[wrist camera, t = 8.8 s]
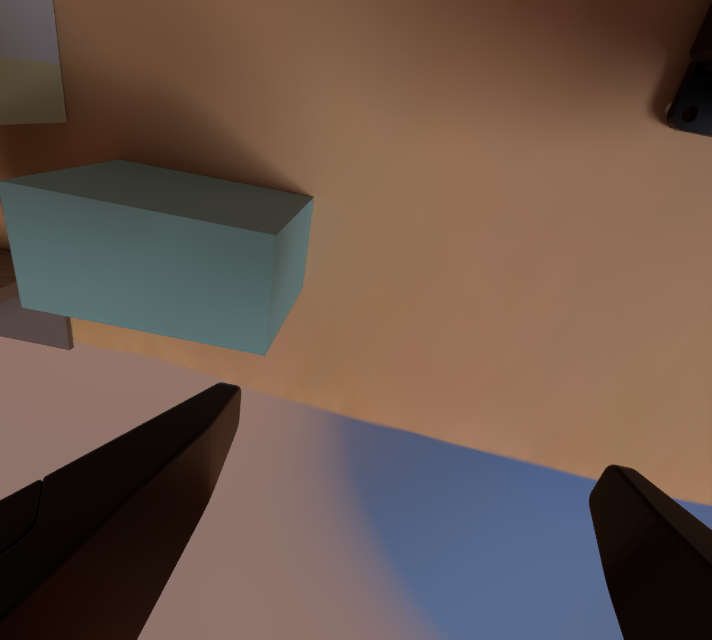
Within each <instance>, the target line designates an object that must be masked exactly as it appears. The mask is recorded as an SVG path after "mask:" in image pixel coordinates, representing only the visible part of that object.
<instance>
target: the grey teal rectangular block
mask: <svg viewBox="0 0 712 640" xmlns="http://www.w3.org/2000/svg"><path fill="white" fill-rule="evenodd" d="M0 197H1V203H2V208H3V213H4V218H5V223H6V228H7V234H8V239H9V244H10V249H11V254H12V259H13V265H14V270H15V275H16V280H17V285H18V290H19V295H20V301H21V306H22V308H27V309H32V310H37V311H42V312H48V313H53V314H58V315H63V316H68V317H73V318H78V319H83V320H88V321H93V322H98V323H103V324H108V325H113V326H118V327H123V328H128V329H133V330H138V331H143V332H148V333H153V334H158V335H163V336H168V337H173V338H178V339H183V340H188V341H193V342H198V343H204V344H209V345H214V346H219V347H224V348H229V349H234V350H239V351H244V352H249V353H254V354H259V355H264V356H265V355H266V353H267V351H268V349H269V348H270V346H271V344H272V342H273V340H274V338H275V337H276V335H277V333H278V331H279V329H280V328H281V326H282V324H283V322H284V320H285V319H286V317H287V315H288V313H289V311H290V309H291V308H292V306H293V304H294V302H295V300H296V299H297V297H298V295H299V293H300V291H301V289H302V287H303V279H304V271H305V263H306V256H307V248H308V240H309V232H310V224H311V216H312V208H313V201H314V197H310V196H305V195H300V194H295V193H289V192H284V191H279V190H274V189H269V188H264V187H259V186H254V185H249V184H244V183H238V182H233V181H228V180H223V179H218V178H213V177H208V176H203V175H198V174H193V173H188V172H182V171H177V170H172V169H167V168H162V167H157V166H152V165H147V164H142V163H137V162H131V161H126V160H121V159H118V160H112V161H106V162H101V163H95V164H89V165H83V166H77V167H72V168H66V169H60V170H54V171H49V172H43V173H37V174H31V175H26V176H20V177H14V178H8V179H2V180H0Z"/></svg>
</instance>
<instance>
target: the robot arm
mask: <svg viewBox="0 0 712 640" xmlns="http://www.w3.org/2000/svg"><path fill="white" fill-rule="evenodd" d="M690 58H691V62H690V65H689V67H688V69H687V71H686V73H685V76H684V78H683V80H682V82H681V84H680V87H679V89H678V91H677V93H676V95H675V98H674V100H673V102H672V104H671V107H670V109H669V111H668V114H667V124H668V125H669V126H670V128H672V129H674V130H678V131H683V132H688V133H693V134H698V135H703V136H708V137H712V4H711V6H710V8H709V10H708V12H707V15H706V17H705V19H704V21H703V24H702V26H701V28H700V30H699V33H698V35H697V37H696V39H695V41H694V44H693V46H692V48H691V50H690ZM687 107H689V108H690V110H691V114H690V117H689V118H688V119H687V120H686V121H684V122H683V121H682V118H681V115H682V112H683V111H684V110H685V109H686V108H687ZM240 402H241V388H240V387H239V386H237V385H232V384H227V383H217V384H216V385H214V386H212V387H210V388H208V389H206V390H204V391H203V392H201V393H199V394H197V395H195V396H193V397H191V398H189V399H188V400H186V401H184V402H182V403H180V404H178V405H177V406H175V407H173V408H171V409H169V410H167V411H165V412H164V413H162V414H160V415H158V416H156V417H154V418H153V419H151V420H149V421H147V422H145V423H143V424H142V425H139V426H138V427H136V428H134V429H132V430H130V431H128V432H127V433H125V434H123V435H121V436H119V437H117V438H115V439H114V440H112V441H110V442H108V443H106V444H104V445H103V446H101V447H99V448H97V449H95V450H93V451H91V452H89V453H88V454H86V455H84V456H82V457H80V458H78V459H77V460H75V461H73V462H71V463H69V464H67V465H65V466H64V467H62V468H60V469H58V470H56V471H54V472H52V473H51V474H49V475H47V476H45V477H44V479H43V481H41V480H37V481H35V482H34V483H32V484H30V485H28V486H26V487H24V488H22V489H21V490H19V491H17V492H15V493H13V494H11V495H9V496H7V497H5V498H4V499H2V500H0V640H137V639H138V637H139V635H140V633H141V631H142V629H143V627H144V625H145V623H146V622H147V620H148V618H149V616H150V614H151V612H152V610H153V608H154V606H155V604H156V602H157V601H158V599H159V597H160V595H161V593H162V591H163V589H164V587H165V585H166V583H167V582H168V580H169V578H170V576H171V574H172V572H173V570H174V568H175V566H176V564H177V562H178V561H179V559H180V557H181V555H182V553H183V551H184V549H185V547H186V545H187V543H188V542H189V540H190V538H191V536H192V534H193V532H194V530H195V528H196V526H197V524H198V522H199V520H200V519H201V517H202V515H203V513H204V511H205V509H206V507H207V505H208V503H209V500H210V498H211V495H212V493H213V490H214V488H215V485H216V483H217V480H218V478H219V475H220V473H221V470H222V467H223V465H224V462H225V460H226V457H227V454H228V452H229V449H230V447H231V444H232V442H233V439H234V436H235V434H236V431H237V427H238V424H239V416H240ZM589 507H590V512H591V516H592V521H593V525H594V530H595V535H596V539H597V544H598V548H599V553H600V558H601V562H602V566H603V571H604V575H605V579H606V583H607V587H608V590H609V594H610V597H611V601H612V604H613V607H614V610H615V613H616V616H617V619H618V622H619V625H620V629H621V632H622V635H623V638H624V640H712V530H711V529H710V528H708V527H707V526H706V525H704V524H703V523H702V522H701V521H699V520H698V519H697V518H696V517H694V516H693V515H692V514H690V513H689V512H688V511H687V510H686V509H684V508H683V507H682V506H680V505H679V504H678V503H677V502H675V501H674V500H673V499H672V498H670V497H669V496H668V495H666V494H665V493H664V492H663V491H661V490H660V489H659V488H658V487H656V486H655V485H654V484H653V483H651V482H650V481H649V480H647V479H646V478H645V477H644V476H642V475H641V474H640V473H639V472H637V471H636V470H634V469H632V468H629V467H624V466H619V465H609V466H608V467H606V469H605V470H604V472H603V473H602V475H601V477H600V478H599V480H598V482H597V483H596V485H595V487H594V489H593V490H592V492H591V494H590V497H589Z"/></svg>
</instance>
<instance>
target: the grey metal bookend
mask: <svg viewBox="0 0 712 640" xmlns="http://www.w3.org/2000/svg"><path fill="white" fill-rule="evenodd" d="M0 336H2V337H7V338H12V339H17V340H22V341H27V342H32V343H37V344H42V345H47V346H52V347H57V348H62V349H67V350H70V349H72V348H73V347H74V345H73V338H72V331H71V324H70V317H68V316H63V315H58V314H53V313H48V312H42V311H37V310H32V309H27V308H22V306H21V301H20V295H19V290H18V285H17V280H16V275H15V270H14V265H13V259H12V254H11V251H9V250H4V249H0Z"/></svg>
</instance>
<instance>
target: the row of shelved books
mask: <svg viewBox="0 0 712 640" xmlns="http://www.w3.org/2000/svg"><path fill="white" fill-rule="evenodd" d="M40 123H67V120H66V111H65V102H64V94H63V85H62V76H61V68H60V59H59V50H58V42H57V33H56V24H55V16H54V7H53V0H0V125H13V124H40Z"/></svg>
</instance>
